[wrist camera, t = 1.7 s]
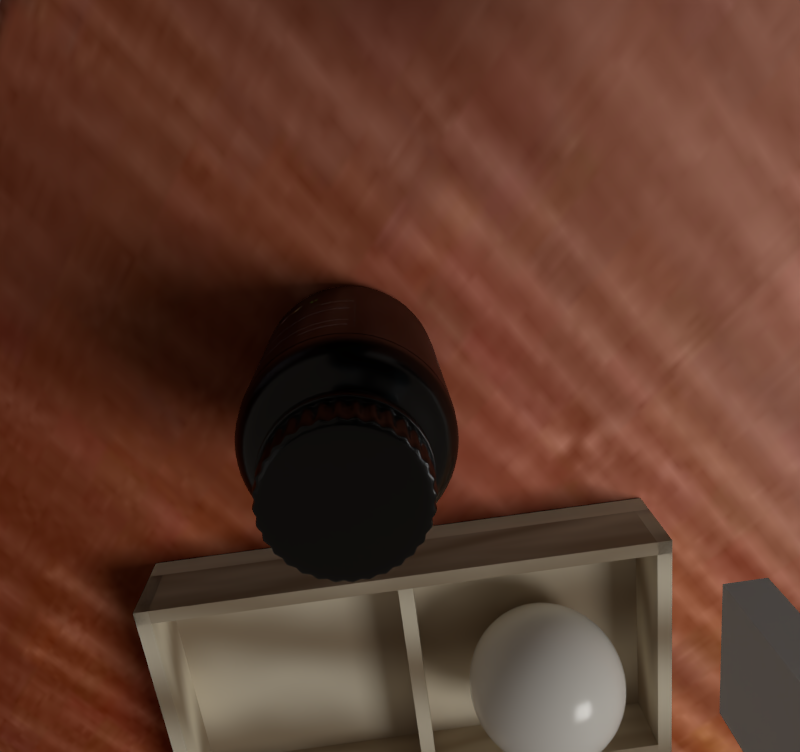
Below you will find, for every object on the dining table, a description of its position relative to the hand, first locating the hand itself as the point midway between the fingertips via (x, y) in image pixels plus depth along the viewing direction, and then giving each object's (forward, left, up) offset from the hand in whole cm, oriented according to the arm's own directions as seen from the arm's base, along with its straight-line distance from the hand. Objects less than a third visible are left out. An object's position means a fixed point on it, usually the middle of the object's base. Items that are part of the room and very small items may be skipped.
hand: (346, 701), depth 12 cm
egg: (+14, +6, -17) cm, 23 cm away
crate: (+19, +1, -18) cm, 26 cm away
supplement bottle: (0, 0, -19) cm, 19 cm away
